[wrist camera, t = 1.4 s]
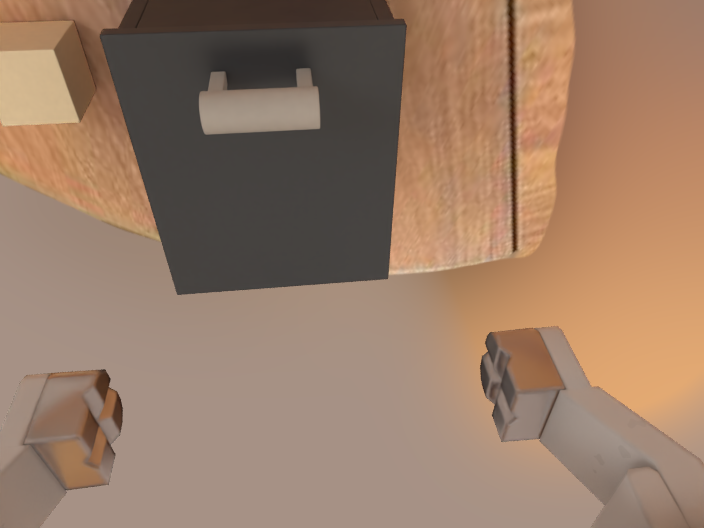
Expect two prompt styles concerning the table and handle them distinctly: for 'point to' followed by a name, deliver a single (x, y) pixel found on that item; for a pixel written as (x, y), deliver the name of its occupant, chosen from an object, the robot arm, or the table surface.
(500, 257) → the table surface
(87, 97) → the block
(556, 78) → the table surface
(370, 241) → the lid
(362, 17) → the dark grey box
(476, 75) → the table surface
